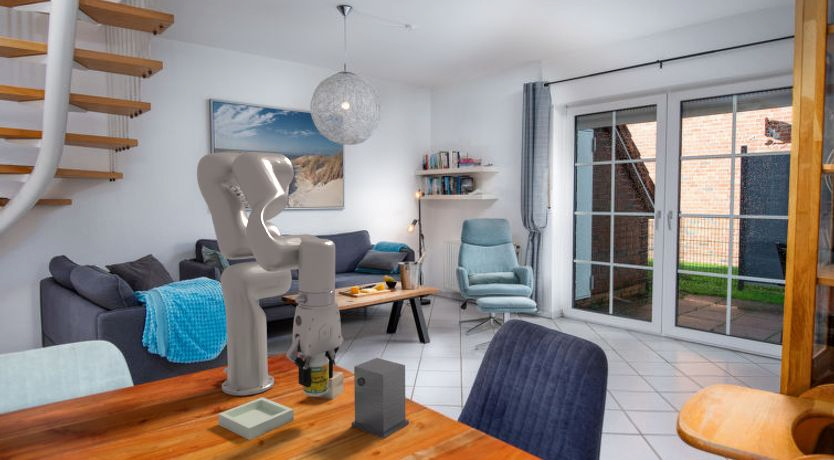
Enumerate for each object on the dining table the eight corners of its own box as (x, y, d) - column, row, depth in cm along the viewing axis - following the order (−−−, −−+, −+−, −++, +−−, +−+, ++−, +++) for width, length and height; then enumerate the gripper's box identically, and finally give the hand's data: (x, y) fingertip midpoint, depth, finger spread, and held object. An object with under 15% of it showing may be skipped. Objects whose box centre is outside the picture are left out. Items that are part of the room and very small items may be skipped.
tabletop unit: (351, 426, 107) (350, 366, 106) (377, 413, 113) (376, 356, 112) (383, 438, 101) (383, 375, 100) (408, 424, 108) (408, 365, 107)
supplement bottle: (322, 384, 112) (323, 342, 111) (332, 393, 108) (333, 349, 107) (299, 389, 109) (299, 346, 108) (308, 399, 105) (308, 354, 104)
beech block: (314, 396, 122) (314, 376, 122) (326, 389, 127) (325, 369, 127) (332, 400, 120) (332, 379, 120) (343, 392, 125) (343, 372, 125)
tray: (218, 424, 107) (218, 413, 107) (262, 407, 116) (262, 397, 116) (249, 440, 101) (249, 428, 101) (293, 420, 110) (293, 409, 109)
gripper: (295, 308, 97) (295, 399, 99) (358, 294, 111) (356, 374, 113) (271, 302, 102) (271, 388, 104) (334, 288, 115) (333, 365, 117)
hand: (315, 380), depth 108 cm, fingers closed on supplement bottle, 5 cm apart
